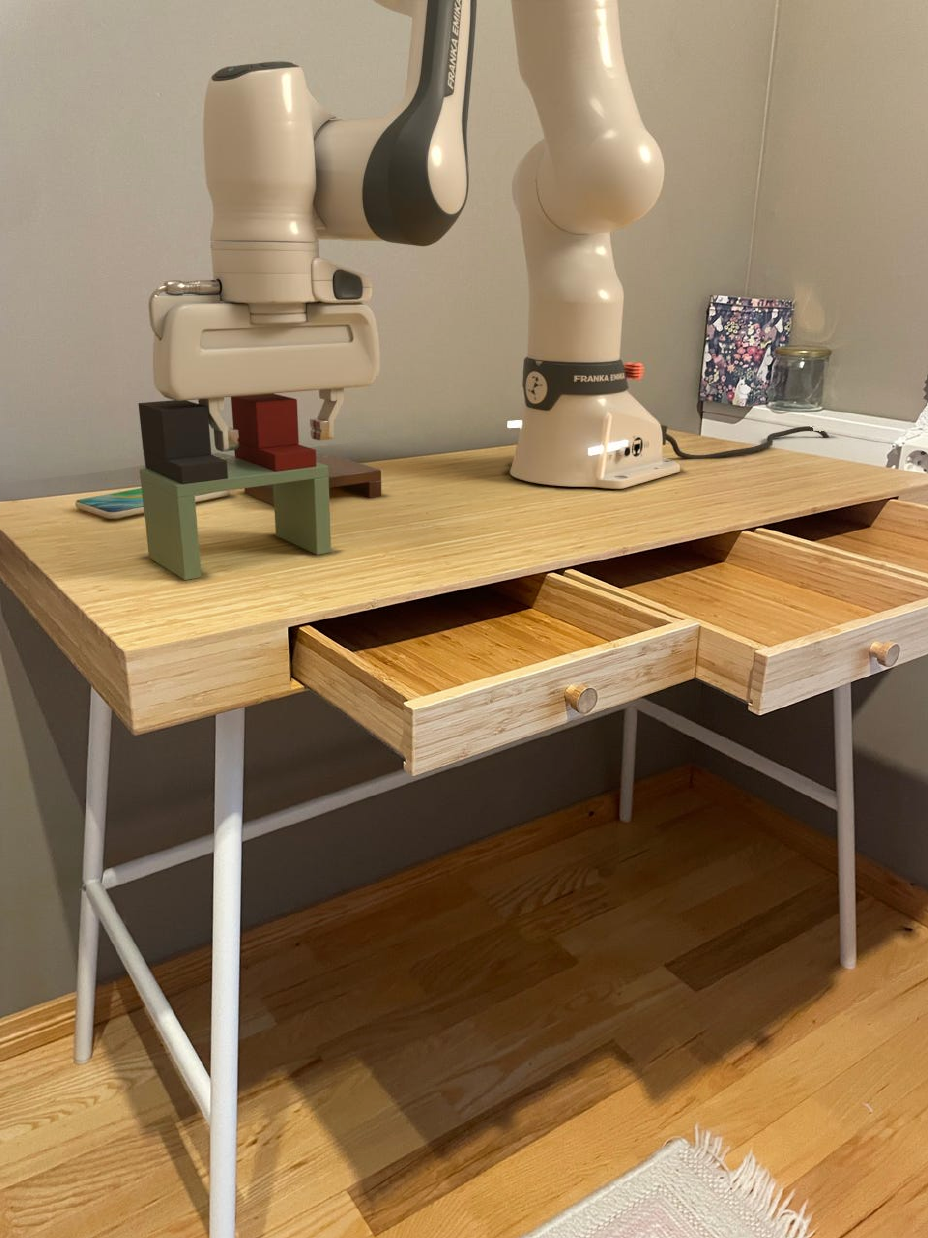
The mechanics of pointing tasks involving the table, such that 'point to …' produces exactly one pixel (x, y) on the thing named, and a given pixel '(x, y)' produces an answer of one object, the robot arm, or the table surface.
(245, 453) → the red l-shaped step block
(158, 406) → the dark stepped block
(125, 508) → the smartphone
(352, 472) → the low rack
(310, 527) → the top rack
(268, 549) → the table surface
